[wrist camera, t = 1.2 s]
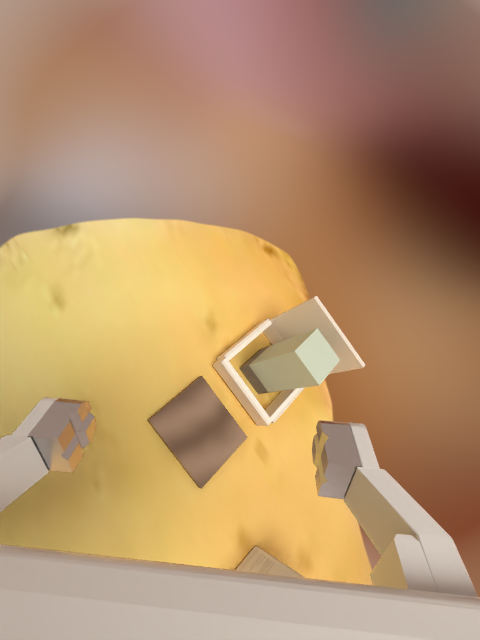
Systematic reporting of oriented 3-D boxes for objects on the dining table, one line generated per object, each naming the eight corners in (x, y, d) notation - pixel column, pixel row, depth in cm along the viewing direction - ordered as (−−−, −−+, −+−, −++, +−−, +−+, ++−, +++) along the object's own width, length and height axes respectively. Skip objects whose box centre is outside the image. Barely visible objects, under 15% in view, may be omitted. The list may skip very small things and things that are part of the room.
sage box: (239, 368, 47) (294, 351, 35) (259, 349, 50) (317, 328, 38) (258, 393, 47) (319, 385, 36) (277, 374, 50) (340, 360, 38)
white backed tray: (209, 363, 45) (258, 343, 33) (259, 322, 51) (314, 293, 39) (257, 427, 46) (320, 430, 34) (300, 379, 52) (367, 367, 40)
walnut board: (147, 420, 39) (149, 420, 38) (199, 376, 44) (201, 375, 43) (198, 487, 40) (201, 488, 39) (244, 436, 44) (247, 437, 44)
